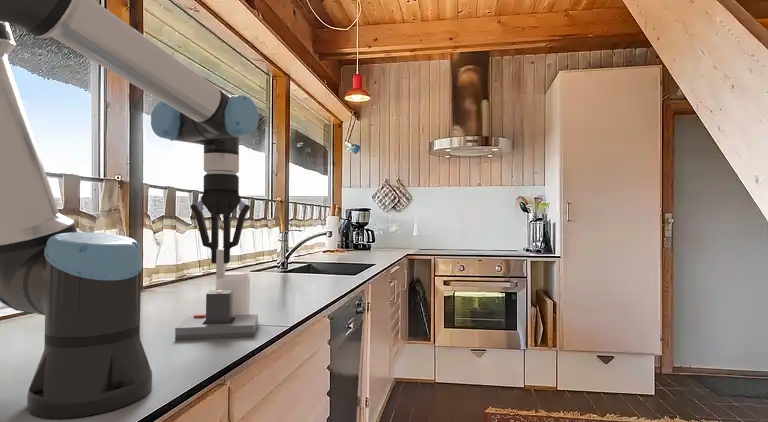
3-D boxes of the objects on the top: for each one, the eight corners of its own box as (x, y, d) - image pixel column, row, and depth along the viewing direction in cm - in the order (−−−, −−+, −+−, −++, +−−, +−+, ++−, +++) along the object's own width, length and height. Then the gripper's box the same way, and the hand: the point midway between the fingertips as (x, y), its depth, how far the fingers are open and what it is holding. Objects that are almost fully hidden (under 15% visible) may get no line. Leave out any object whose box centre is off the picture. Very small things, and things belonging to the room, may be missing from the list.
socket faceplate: (253, 336, 98) (254, 322, 98) (175, 339, 95) (175, 325, 95) (257, 324, 109) (258, 311, 109) (187, 327, 106) (187, 313, 106)
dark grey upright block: (229, 329, 100) (230, 292, 100) (205, 330, 99) (206, 293, 99) (232, 324, 105) (232, 288, 105) (209, 325, 104) (209, 289, 104)
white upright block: (256, 319, 114) (256, 272, 114) (229, 326, 107) (230, 275, 108) (234, 315, 119) (235, 270, 119) (208, 321, 112) (208, 273, 112)
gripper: (252, 175, 108) (251, 275, 107) (194, 174, 105) (193, 276, 105) (249, 173, 100) (248, 279, 100) (187, 171, 98) (186, 281, 98)
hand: (220, 277), depth 102 cm, fingers closed
